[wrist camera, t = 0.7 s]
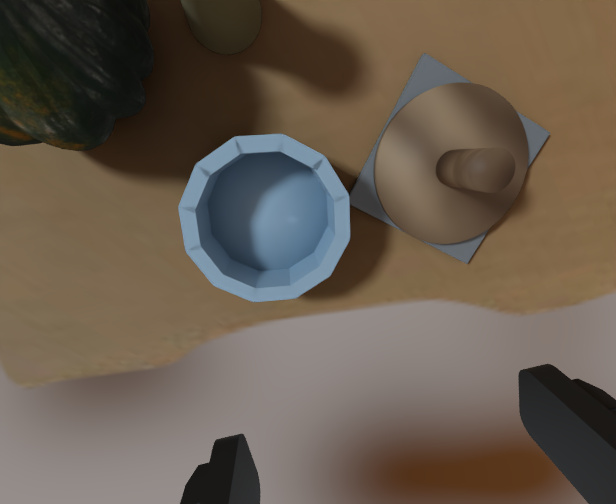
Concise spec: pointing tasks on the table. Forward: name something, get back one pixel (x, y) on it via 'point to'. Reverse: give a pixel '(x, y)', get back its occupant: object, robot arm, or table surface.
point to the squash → (71, 69)
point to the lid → (451, 163)
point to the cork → (224, 23)
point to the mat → (421, 80)
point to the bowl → (265, 217)
